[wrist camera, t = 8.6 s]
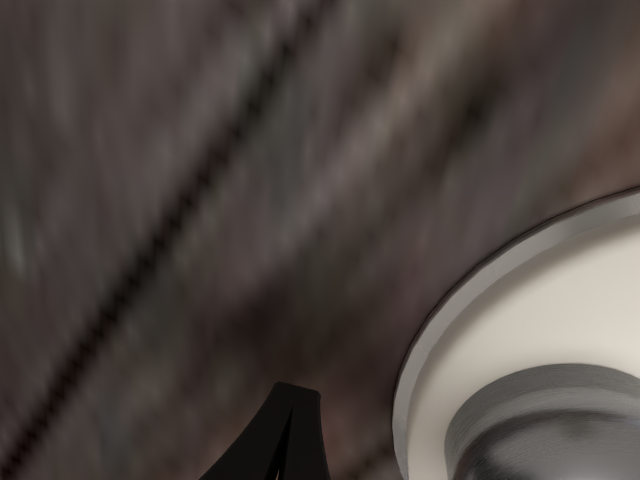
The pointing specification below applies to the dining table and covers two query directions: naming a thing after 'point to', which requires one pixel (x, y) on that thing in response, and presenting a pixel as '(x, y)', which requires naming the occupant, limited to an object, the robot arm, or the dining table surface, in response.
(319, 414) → the robot arm
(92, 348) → the dining table surface
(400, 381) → the turntable base
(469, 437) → the cover
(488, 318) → the disc
